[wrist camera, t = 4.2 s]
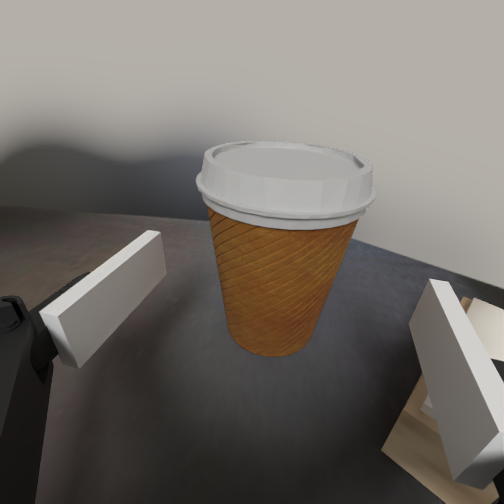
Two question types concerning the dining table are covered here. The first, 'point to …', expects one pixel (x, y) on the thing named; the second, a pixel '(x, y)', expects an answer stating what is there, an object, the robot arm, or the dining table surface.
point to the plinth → (426, 429)
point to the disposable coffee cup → (280, 234)
